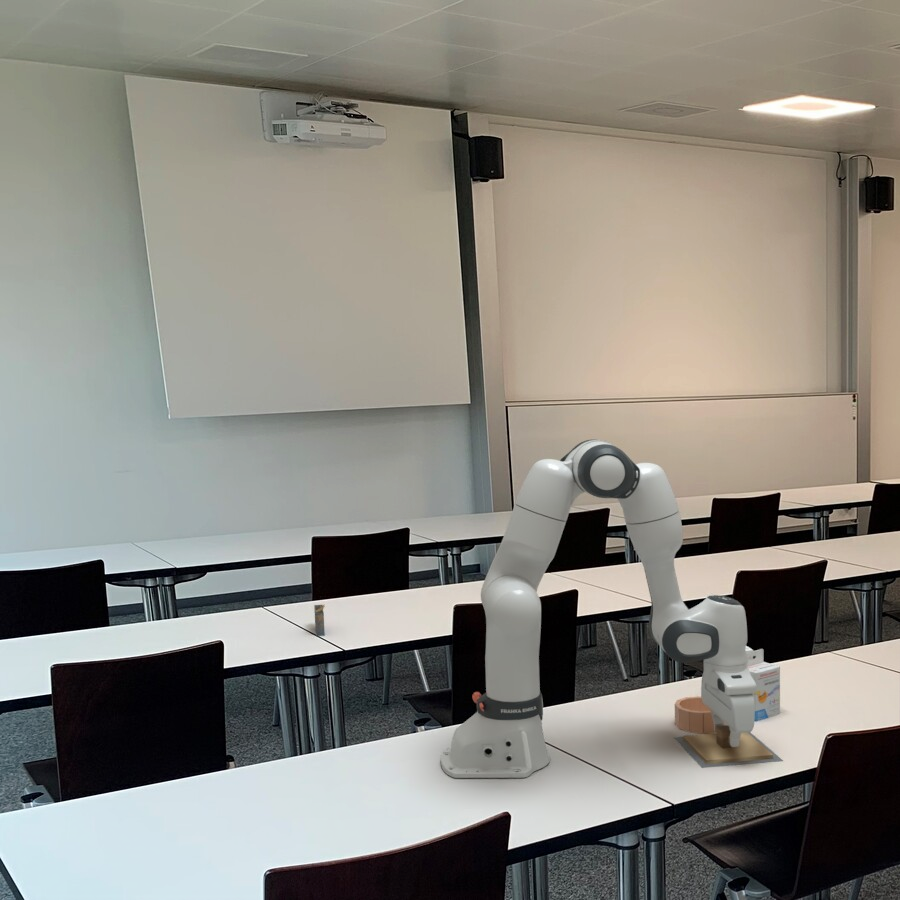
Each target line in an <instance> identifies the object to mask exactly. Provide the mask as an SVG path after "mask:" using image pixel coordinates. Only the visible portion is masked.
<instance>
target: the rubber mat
mask: <svg viewBox="0 0 900 900" xmlns="http://www.w3.org/2000/svg"><path fill="white" fill-rule="evenodd" d="M747 733H749V734H750V735H751V736H752V737H753V738H754V739H755V740H757V741H758V742H759V743H760V744H761V745H762V746H764V747H765V748H766V749H767V750H768V751H769V752H771V753H772V754H773V759H764V760H751V761H739V762H727V763H715V764H706V763H705V762H704V761H703V760H702V759H701V758H700V757H699V756H698V755H697V754H696V753H695V752H694V751H693V750H692V749H691V747H690V746H689V745H688V744H687V743H686V742H685V741H684V740H683V736H676V737H675V736H674V737H673V739H674V740H675V741H676V743H678V745H680V746H681V747H682V748H683V750H684V751H686V753H687V754H688V755H689V756H690V757H691V758H692V759H693V761H695V762H696V763H697V765H699V766H700V768H702V769H704V768H716V767H728V766H729V767H730V766H739V765H740V766H742V765H753V764H764V763H765V764H766V763H767V764H768V763H777V762H784V760H783V759H782V758H781V757H780V756H779V755H777V754H776V753H775V752H774V751H773V750H772V749H771V748H769V747H768V746H767V745H766V744H765V743H763V741H761V740H760V739H758V737H756V736H755V735H754V733H752V731H751V732H747Z"/></svg>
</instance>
